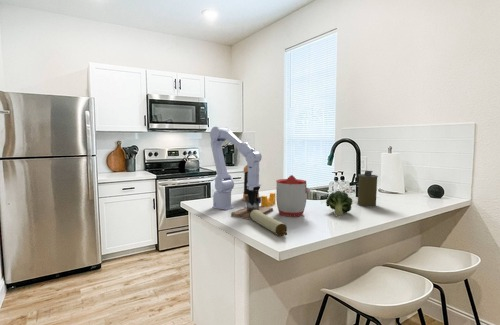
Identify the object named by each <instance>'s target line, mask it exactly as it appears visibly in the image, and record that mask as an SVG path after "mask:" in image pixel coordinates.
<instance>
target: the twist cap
mask: <svg viewBox="0 0 500 325" xmlns="http://www.w3.org/2000/svg"><path fill="white" fill-rule="evenodd" d="M245 203H246V207H247V211H251V210H253V209H255V210H259V206H260V204H261V196H259V197H257V196H255V202H254V204H250V203H249V198H248V195H246V201H245Z"/></svg>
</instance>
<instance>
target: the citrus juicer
mask: <svg viewBox="0 0 500 325" xmlns="http://www.w3.org/2000/svg"><path fill="white" fill-rule="evenodd" d="M275 181H276V192H275V201H276V205H277V210H278V213H279V215H281V216H282V217H301V216H302V215H303V214H304V212H305V209H306V204H307V194H308V193H311V192H312V191H311V189H310V188H309V187H307V181H306V180H304V179H298V178H296V177H295V176H294V175H293V174H291V175H289V176H288V177H287V178H283V179H276V180H275Z"/></svg>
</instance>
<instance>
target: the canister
mask: <svg viewBox="0 0 500 325" xmlns="http://www.w3.org/2000/svg"><path fill="white" fill-rule="evenodd" d="M373 172H374V170H365V171H364V174H363V173H361V174H360V173H358V174H357V175H356V176H357V180H356V186H357V203H356V204H357V206H359V207H363V208H364V207H366V208H375V207H377V193H378V192H377V190H378V189H377V188H378V177H379V176H378V175H377V174H372V173H373Z"/></svg>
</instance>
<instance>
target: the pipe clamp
mask: <svg viewBox="0 0 500 325" xmlns="http://www.w3.org/2000/svg"><path fill="white" fill-rule="evenodd" d="M260 197H261V203H260V206H262V207H272V206H273V205H276V192H270V193H269V197H268V196H267V195H261V196H260Z"/></svg>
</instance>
